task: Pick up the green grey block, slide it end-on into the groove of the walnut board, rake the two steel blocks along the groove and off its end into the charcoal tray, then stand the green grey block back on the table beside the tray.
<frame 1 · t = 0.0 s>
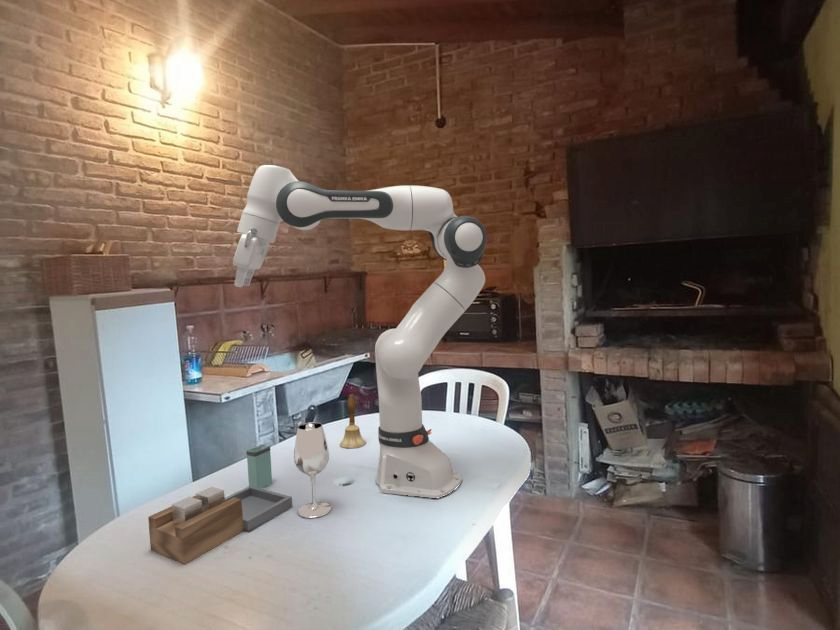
hand: (241, 286, 123), 52 cm above the table, tool tilted 20°, fingers open, 8 cm apart
tray: (249, 512, 118), on the table
green grey block: (260, 486, 133), on the table
hand bell: (352, 444, 163), on the table
steel block b: (188, 521, 105), point 5 cm above the table, touching groove board
wineglass: (314, 511, 118), on the table
steel block a: (211, 509, 109), point 5 cm above the table, touching groove board
groove board: (198, 540, 107), on the table
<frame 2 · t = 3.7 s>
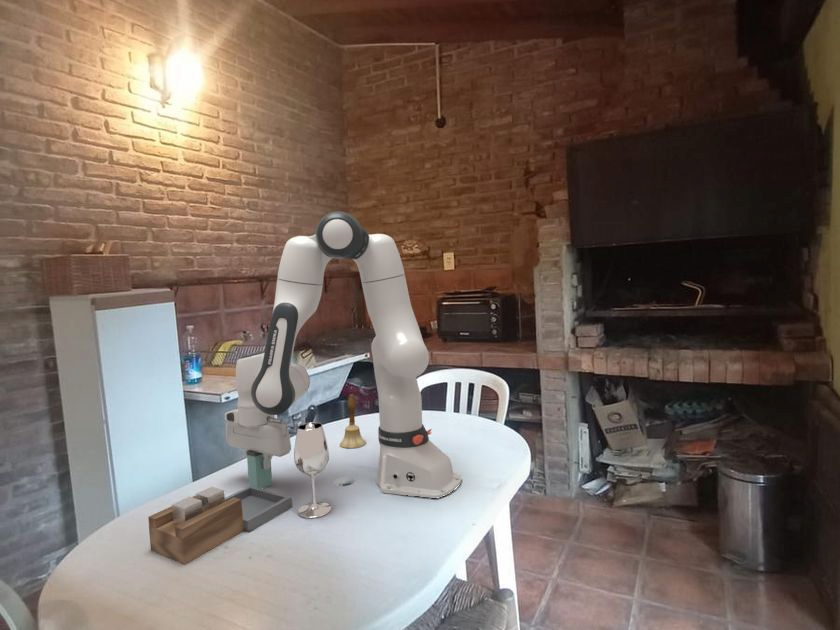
hand: (259, 467, 132), 5 cm above the table, tool pointing down, fingers closed on green grey block, 3 cm apart
green grey block: (260, 486, 133), on the table, touching gripper
everything else where it was.
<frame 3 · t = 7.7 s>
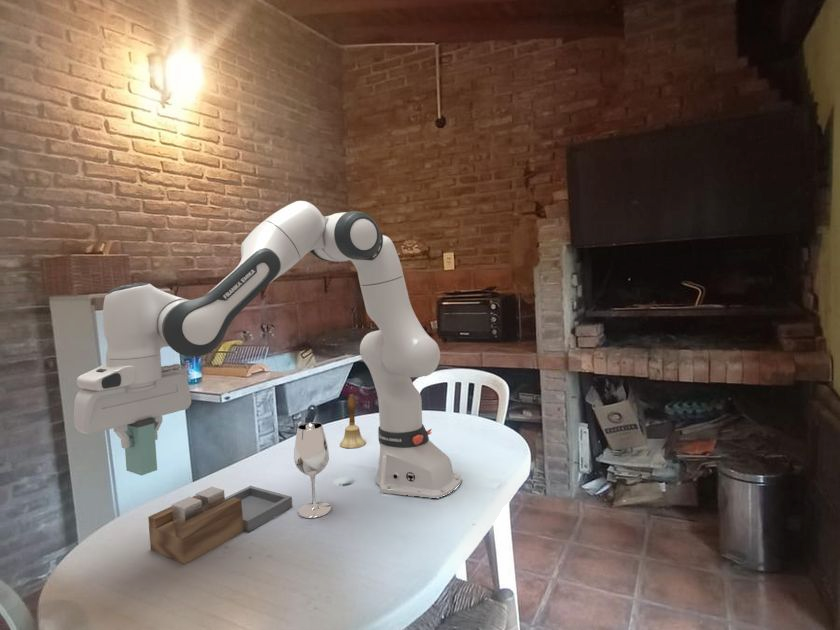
hand: (140, 444, 96), 24 cm above the table, tool pointing down, fingers closed on green grey block, 3 cm apart
green grey block: (141, 470, 96), point 19 cm above the table, touching gripper
everything else where it was.
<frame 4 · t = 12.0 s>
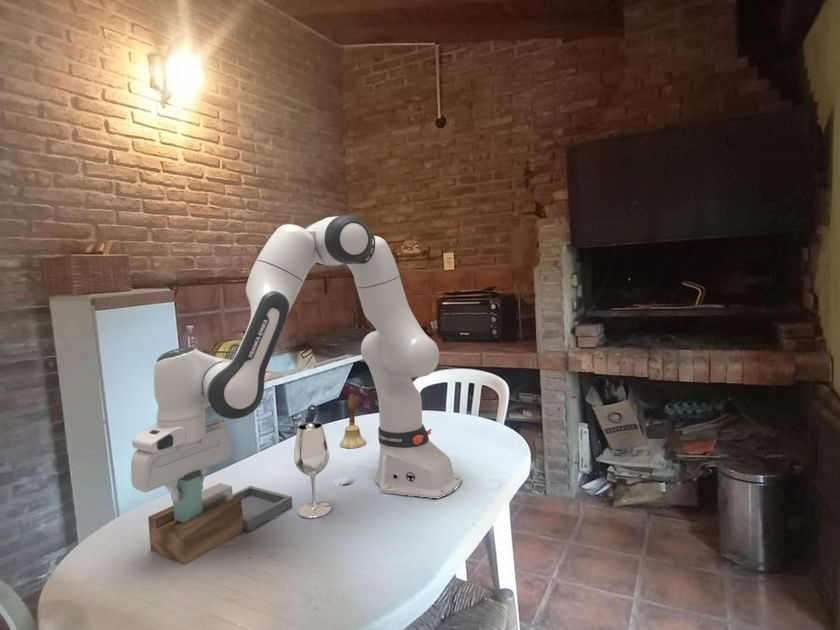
hand: (187, 495, 104), 10 cm above the table, tool pointing down, fingers closed on green grey block, 3 cm apart
green grey block: (188, 519, 105), point 5 cm above the table, touching gripper, steel block b
steel block b: (203, 513, 108), point 5 cm above the table, touching green grey block, steel block a
steel block a: (219, 505, 111), point 5 cm above the table, touching groove board, steel block b
everything else where it was.
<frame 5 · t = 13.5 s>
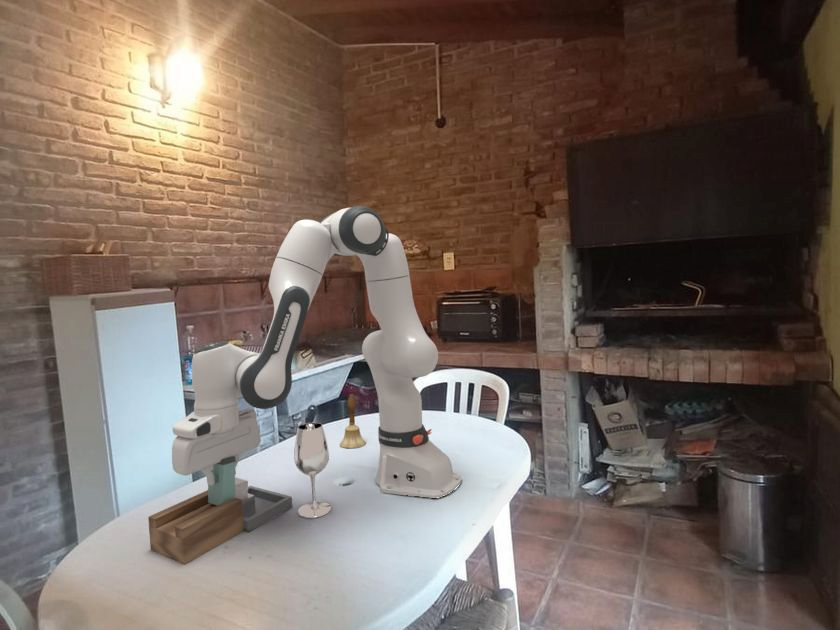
hand: (221, 479, 111), 10 cm above the table, tool pointing down, fingers closed on green grey block, 3 cm apart
green grey block: (221, 502, 111), point 6 cm above the table, tilted 5°, touching gripper
steel block b: (234, 499, 114), point 5 cm above the table, tilted 5°
steel block a: (234, 509, 115), point 3 cm above the table, tilted 90°, touching tray
everything else where it was.
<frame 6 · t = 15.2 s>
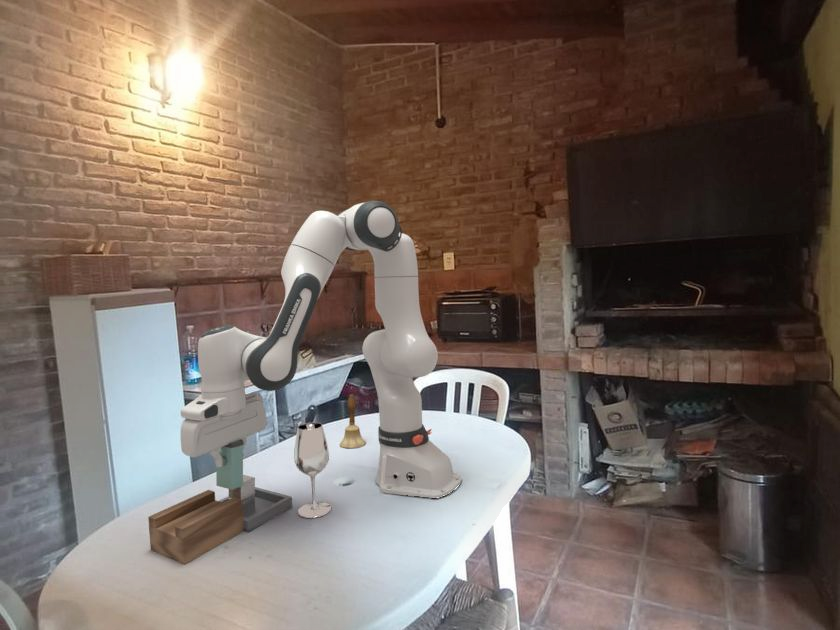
hand: (230, 462, 113), 14 cm above the table, tool pointing down, fingers closed on green grey block, 3 cm apart
green grey block: (229, 485, 113), point 9 cm above the table, tilted 5°, touching gripper
steel block b: (241, 496, 116), point 5 cm above the table, touching steel block a
steel block a: (234, 508, 115), point 3 cm above the table, tilted 90°, touching steel block b, tray
everything else where it was.
when the fingers open (7 cm above the table, at t = 20.3 s): green grey block drops 1 cm, on the table.
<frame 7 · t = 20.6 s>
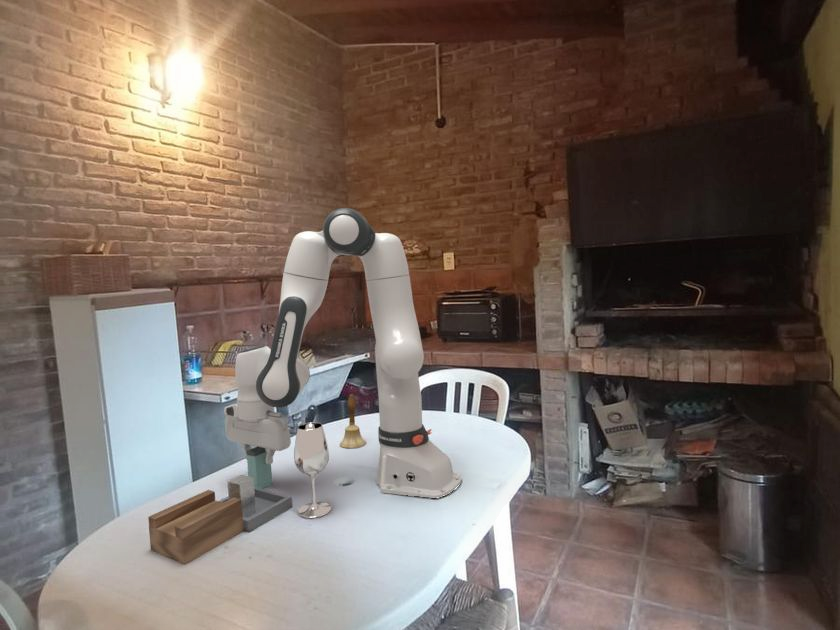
hand: (259, 461, 132), 7 cm above the table, tool pointing down, fingers open, 5 cm apart
green grey block: (261, 486, 133), on the table
everything else where it was.
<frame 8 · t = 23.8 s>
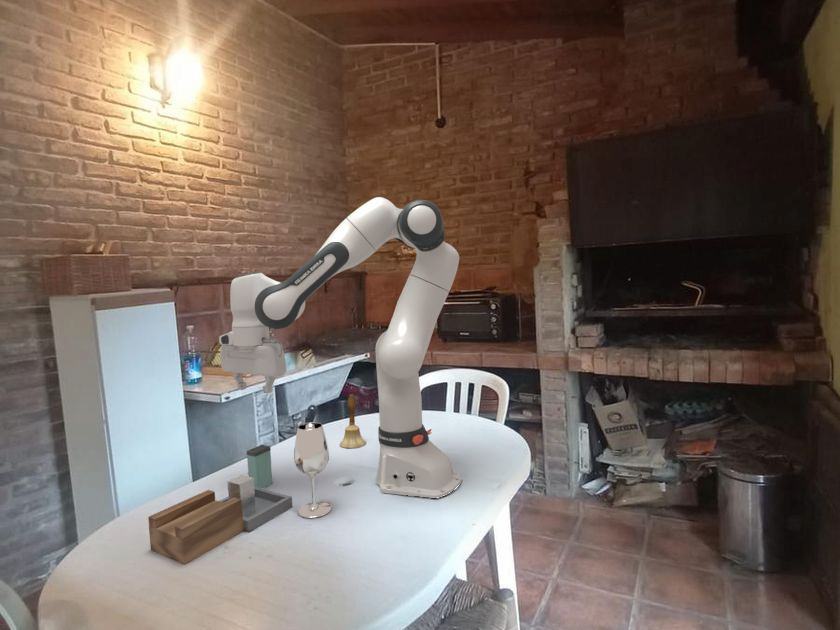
hand: (254, 391, 130), 25 cm above the table, tool pointing down, fingers open, 8 cm apart
nothing on the table moved.
at the end: steel block a inside the target area (4.0 cm from its centre), point 2.6 cm above the table; steel block b inside the target area (1.9 cm from its centre), point 4.6 cm above the table; green grey block inside the target area (0.0 cm from its centre), on the table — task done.
